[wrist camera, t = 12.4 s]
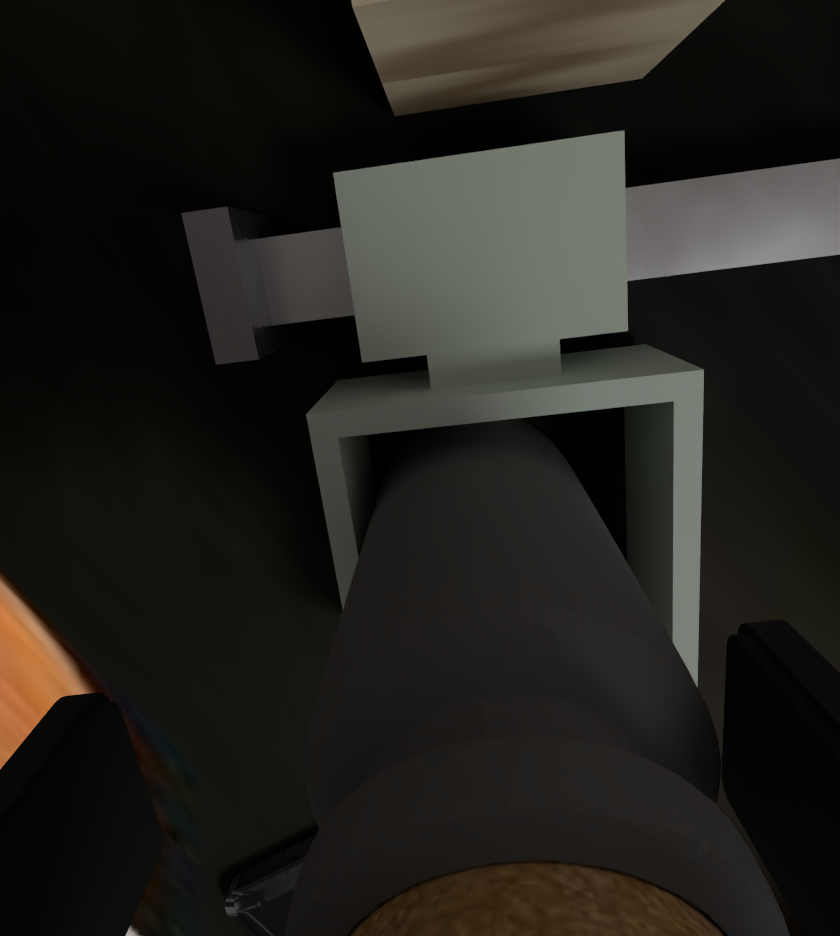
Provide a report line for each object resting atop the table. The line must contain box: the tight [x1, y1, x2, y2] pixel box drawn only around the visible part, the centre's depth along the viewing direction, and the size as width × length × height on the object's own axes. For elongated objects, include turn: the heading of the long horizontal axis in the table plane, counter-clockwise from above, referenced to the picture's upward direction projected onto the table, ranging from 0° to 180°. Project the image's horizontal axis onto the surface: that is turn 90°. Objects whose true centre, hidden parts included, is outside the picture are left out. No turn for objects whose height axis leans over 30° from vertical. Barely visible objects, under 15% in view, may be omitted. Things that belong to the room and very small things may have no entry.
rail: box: [181, 159, 840, 365], centre depth 14 cm, size 24×3×4 cm, turn 97°
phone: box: [225, 835, 316, 936], centre depth 23 cm, size 8×1×15 cm
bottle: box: [284, 418, 790, 936], centre depth 11 cm, size 6×6×15 cm
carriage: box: [306, 131, 704, 686], centre depth 15 cm, size 8×13×4 cm, turn 7°
